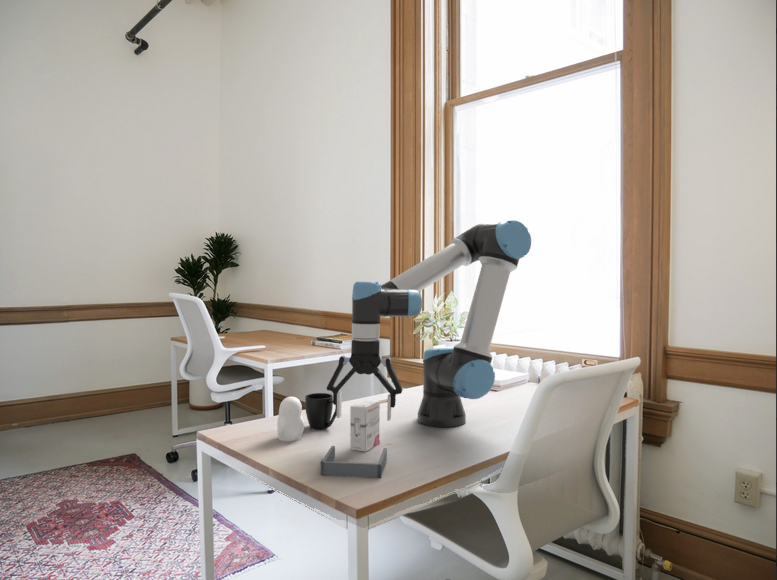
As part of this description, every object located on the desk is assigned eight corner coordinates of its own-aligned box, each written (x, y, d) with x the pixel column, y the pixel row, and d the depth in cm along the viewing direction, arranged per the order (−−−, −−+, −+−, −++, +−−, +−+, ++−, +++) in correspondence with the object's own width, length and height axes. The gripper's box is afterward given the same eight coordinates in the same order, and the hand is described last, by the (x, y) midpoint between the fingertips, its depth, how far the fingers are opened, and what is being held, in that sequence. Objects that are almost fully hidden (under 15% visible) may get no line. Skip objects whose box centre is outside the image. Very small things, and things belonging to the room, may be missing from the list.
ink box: (364, 440, 153) (364, 398, 152) (380, 443, 151) (380, 400, 150) (349, 449, 145) (349, 405, 145) (365, 452, 143) (366, 407, 143)
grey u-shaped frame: (386, 459, 137) (386, 448, 137) (380, 477, 125) (380, 464, 125) (331, 457, 139) (331, 445, 139) (320, 475, 127) (320, 462, 127)
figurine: (281, 444, 149) (281, 400, 149) (273, 436, 156) (273, 394, 156) (306, 440, 153) (306, 397, 152) (297, 433, 159) (297, 392, 159)
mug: (327, 435, 157) (327, 402, 157) (299, 427, 165) (299, 396, 165) (347, 429, 164) (347, 397, 163) (319, 421, 171) (319, 391, 171)
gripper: (413, 339, 149) (411, 416, 150) (323, 336, 152) (321, 412, 153) (411, 342, 142) (409, 424, 142) (316, 339, 145) (315, 419, 145)
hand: (363, 418), depth 147 cm, fingers open, 13 cm apart
